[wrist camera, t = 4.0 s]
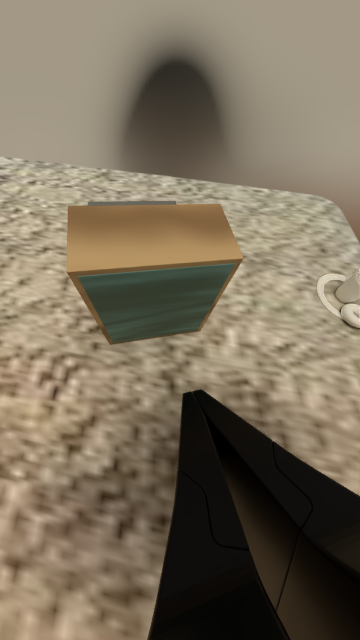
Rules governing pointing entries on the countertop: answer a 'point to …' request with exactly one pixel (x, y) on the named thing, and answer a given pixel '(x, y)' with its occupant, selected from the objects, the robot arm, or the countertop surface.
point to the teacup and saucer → (343, 296)
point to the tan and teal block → (150, 266)
